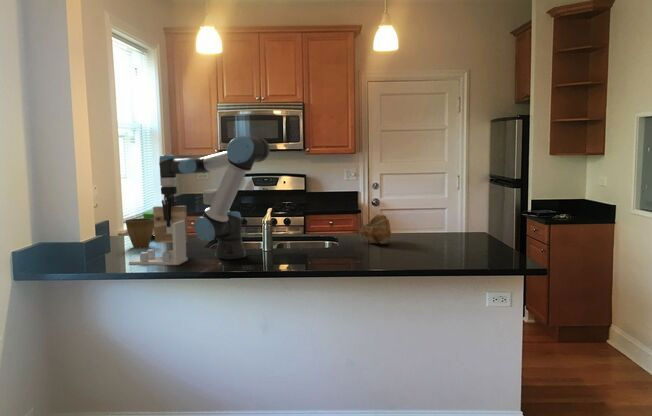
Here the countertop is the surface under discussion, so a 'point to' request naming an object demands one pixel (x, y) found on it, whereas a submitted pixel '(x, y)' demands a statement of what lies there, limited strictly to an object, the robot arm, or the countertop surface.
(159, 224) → the maple door
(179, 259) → the cabinet base
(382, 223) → the rough brown rock
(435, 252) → the countertop surface
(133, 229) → the plant pot
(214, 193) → the hammer
